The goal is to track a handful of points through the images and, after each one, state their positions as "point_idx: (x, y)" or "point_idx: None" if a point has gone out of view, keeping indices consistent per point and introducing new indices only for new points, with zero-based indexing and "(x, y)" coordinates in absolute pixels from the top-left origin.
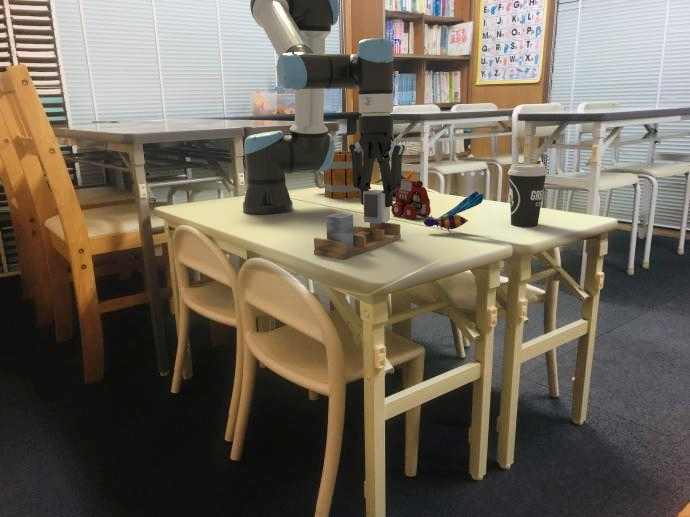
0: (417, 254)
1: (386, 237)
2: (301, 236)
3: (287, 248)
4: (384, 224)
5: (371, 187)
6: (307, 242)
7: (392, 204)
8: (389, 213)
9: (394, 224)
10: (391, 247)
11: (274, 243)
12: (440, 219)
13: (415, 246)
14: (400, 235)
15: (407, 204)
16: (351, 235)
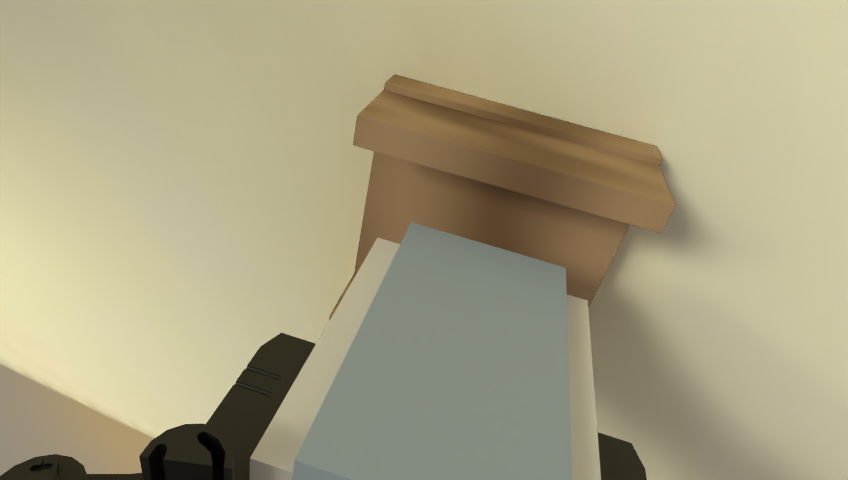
0: (803, 467)
1: (569, 280)
2: (58, 235)
3: (181, 423)
4: (510, 182)
5: (230, 467)
6: (175, 336)
7: (640, 464)
8: (587, 348)
9: (617, 218)
10: (629, 369)
11: (78, 367)
12: None
13: (792, 333)
14: (659, 156)
15: None
16: None
